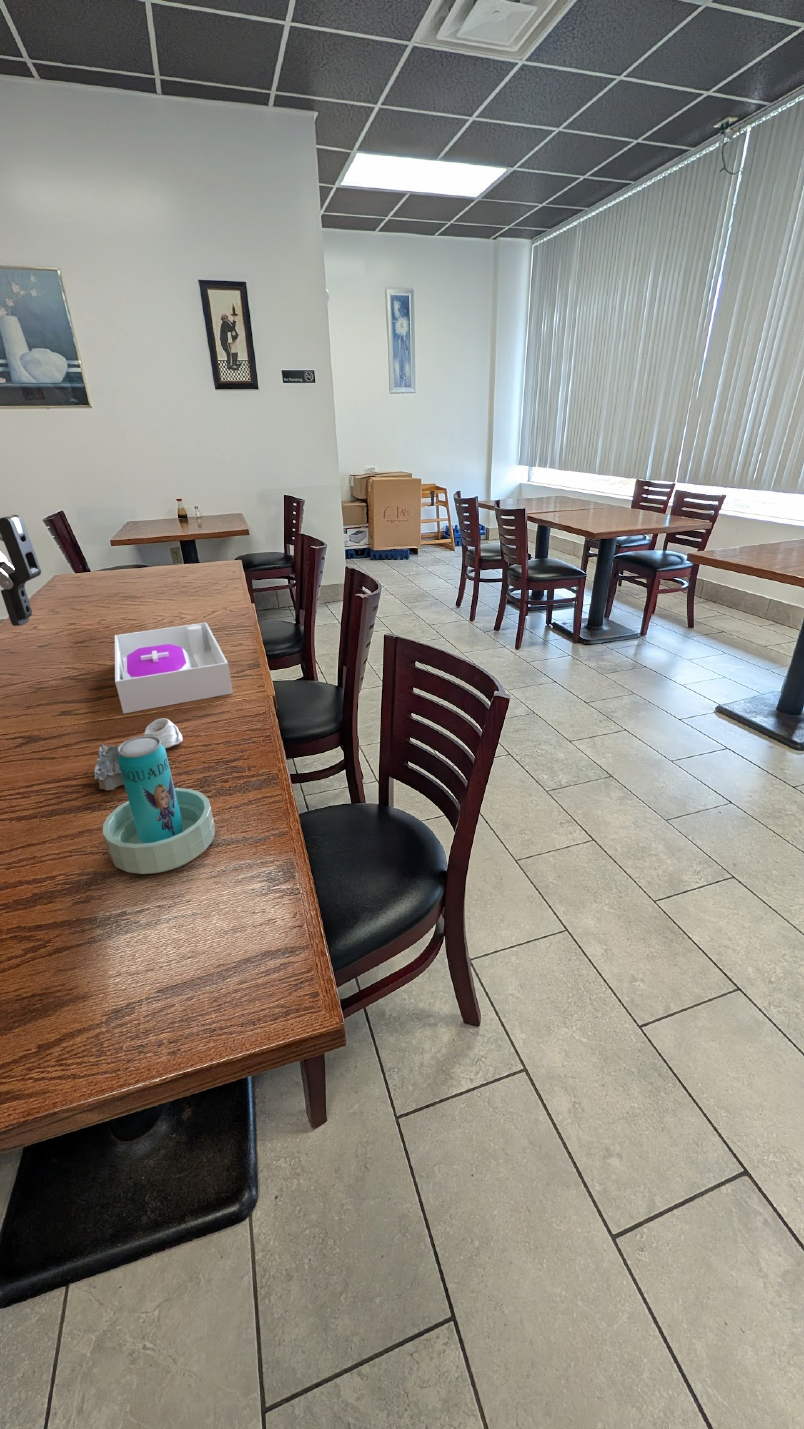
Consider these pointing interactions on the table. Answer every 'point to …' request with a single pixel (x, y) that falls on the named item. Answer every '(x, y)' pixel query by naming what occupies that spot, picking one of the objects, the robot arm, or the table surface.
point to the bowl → (164, 853)
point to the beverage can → (150, 788)
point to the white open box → (169, 667)
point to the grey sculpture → (108, 768)
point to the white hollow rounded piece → (164, 732)
